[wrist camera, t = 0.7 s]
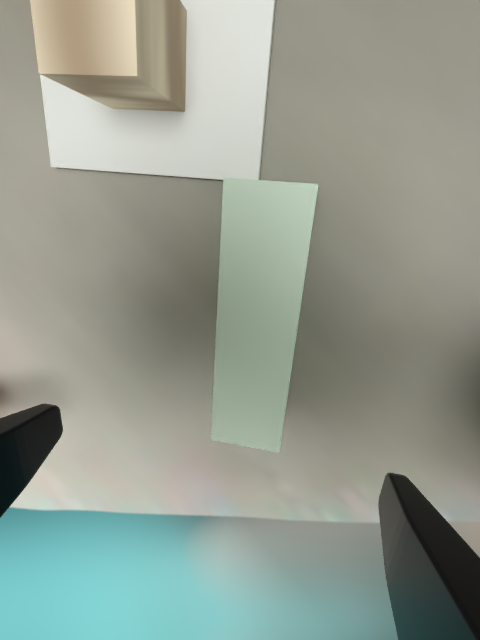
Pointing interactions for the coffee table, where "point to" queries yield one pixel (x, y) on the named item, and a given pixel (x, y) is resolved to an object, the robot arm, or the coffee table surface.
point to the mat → (200, 106)
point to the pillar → (115, 50)
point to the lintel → (258, 306)
